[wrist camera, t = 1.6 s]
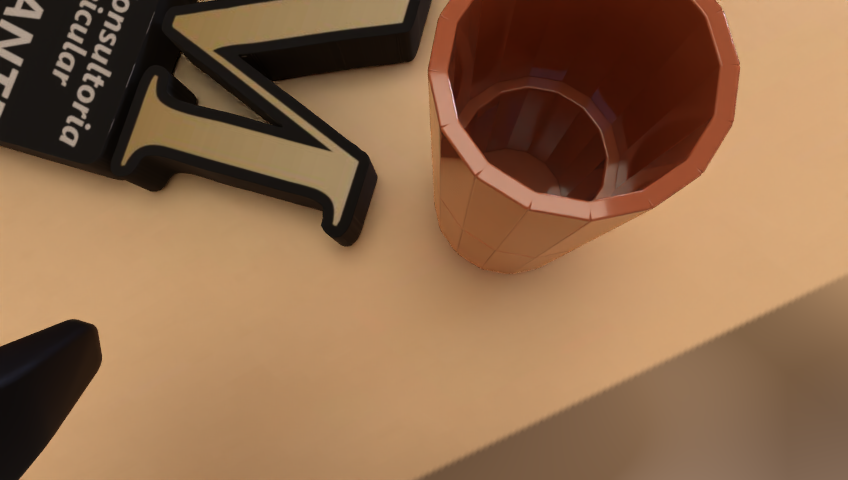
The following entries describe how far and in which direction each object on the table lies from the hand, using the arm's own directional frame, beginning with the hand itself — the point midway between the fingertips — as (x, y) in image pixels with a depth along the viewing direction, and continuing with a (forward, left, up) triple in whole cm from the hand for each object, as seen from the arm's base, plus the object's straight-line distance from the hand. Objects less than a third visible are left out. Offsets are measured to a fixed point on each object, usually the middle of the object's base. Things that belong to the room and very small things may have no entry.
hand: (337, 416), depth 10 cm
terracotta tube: (+8, 0, -14) cm, 16 cm away
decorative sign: (+8, +16, -14) cm, 22 cm away
